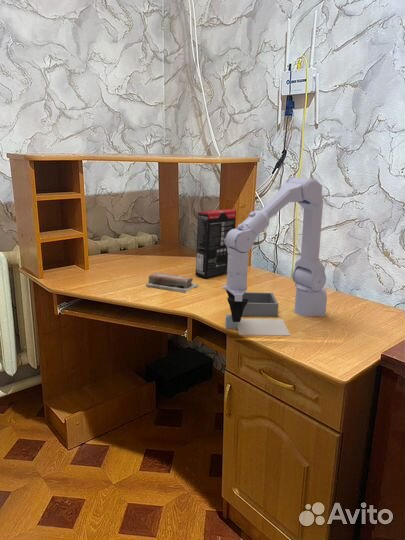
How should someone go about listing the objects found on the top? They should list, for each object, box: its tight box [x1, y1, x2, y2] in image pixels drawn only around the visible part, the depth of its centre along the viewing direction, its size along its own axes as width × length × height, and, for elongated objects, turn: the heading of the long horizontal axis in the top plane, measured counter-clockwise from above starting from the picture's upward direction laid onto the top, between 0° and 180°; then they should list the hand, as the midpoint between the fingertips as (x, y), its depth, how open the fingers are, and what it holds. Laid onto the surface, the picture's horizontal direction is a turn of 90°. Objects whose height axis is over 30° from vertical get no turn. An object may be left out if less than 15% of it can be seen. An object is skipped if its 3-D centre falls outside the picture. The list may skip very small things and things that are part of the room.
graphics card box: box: [195, 208, 237, 279], centre depth 176 cm, size 17×7×27 cm, turn 135°
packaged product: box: [145, 271, 199, 294], centre depth 161 cm, size 18×5×10 cm
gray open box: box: [242, 291, 279, 318], centre depth 136 cm, size 14×11×5 cm
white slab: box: [224, 314, 291, 337], centre depth 123 cm, size 18×11×4 cm, turn 90°
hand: (235, 316), depth 123 cm, fingers open, 7 cm apart
